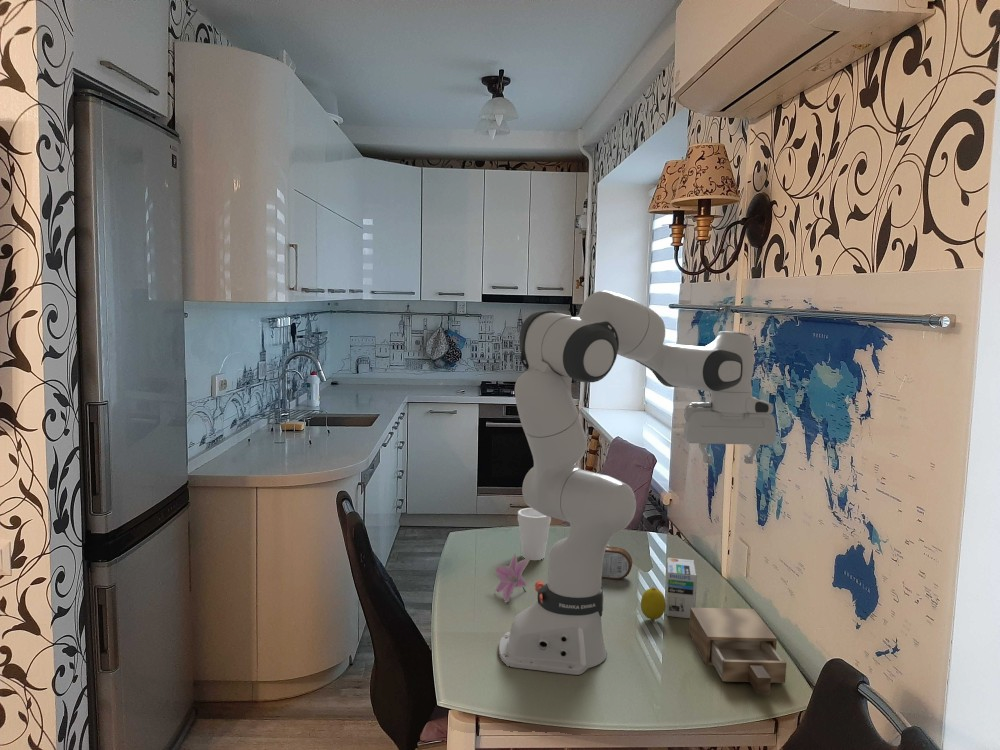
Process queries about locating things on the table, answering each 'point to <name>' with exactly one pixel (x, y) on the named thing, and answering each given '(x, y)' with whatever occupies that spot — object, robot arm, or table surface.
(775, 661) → the tray
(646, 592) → the lemon
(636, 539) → the table surface
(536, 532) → the foam cup
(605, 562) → the tin
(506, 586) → the lily
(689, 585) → the light bulb box
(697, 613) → the sleeve
